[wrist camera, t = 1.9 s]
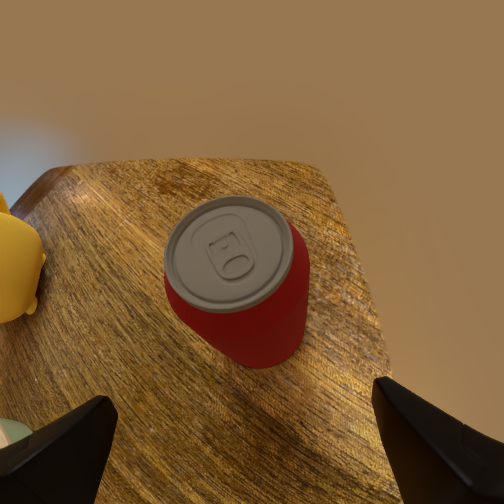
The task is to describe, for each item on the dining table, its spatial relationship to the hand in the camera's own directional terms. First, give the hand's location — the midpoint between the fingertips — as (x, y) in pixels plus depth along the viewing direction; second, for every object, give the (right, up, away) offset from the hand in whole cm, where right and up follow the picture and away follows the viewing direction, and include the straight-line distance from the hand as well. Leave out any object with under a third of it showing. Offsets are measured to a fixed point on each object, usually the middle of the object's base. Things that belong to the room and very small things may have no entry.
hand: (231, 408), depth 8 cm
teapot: (-29, 0, +19) cm, 35 cm away
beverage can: (+1, -1, +14) cm, 14 cm away
